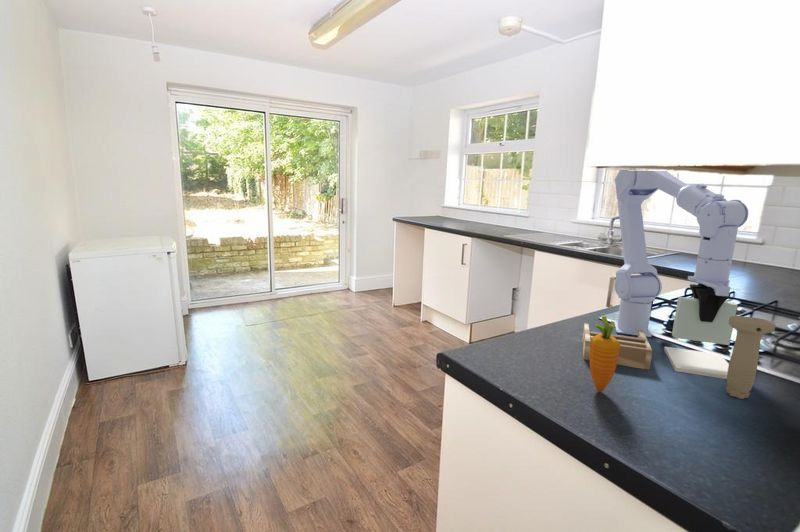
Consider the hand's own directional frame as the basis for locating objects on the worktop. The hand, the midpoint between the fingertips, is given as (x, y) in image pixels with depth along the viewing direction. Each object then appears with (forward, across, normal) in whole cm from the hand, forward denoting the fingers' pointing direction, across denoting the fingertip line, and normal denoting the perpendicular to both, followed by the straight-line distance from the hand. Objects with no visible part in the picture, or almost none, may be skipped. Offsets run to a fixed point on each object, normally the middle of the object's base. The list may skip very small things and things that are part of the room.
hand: (704, 319), depth 86 cm
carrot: (+11, +21, -21) cm, 32 cm away
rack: (+10, 0, -17) cm, 20 cm away
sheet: (+5, 0, 0) cm, 5 cm away
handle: (+11, +13, +3) cm, 17 cm away
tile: (+10, 0, 0) cm, 10 cm away
